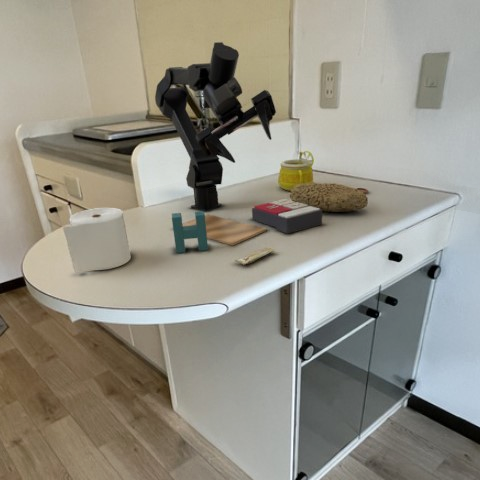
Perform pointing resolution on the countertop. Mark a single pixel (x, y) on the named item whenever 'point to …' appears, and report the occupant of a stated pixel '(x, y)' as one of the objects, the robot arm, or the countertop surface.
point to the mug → (296, 172)
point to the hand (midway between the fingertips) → (252, 149)
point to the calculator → (287, 215)
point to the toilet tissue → (97, 239)
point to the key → (363, 190)
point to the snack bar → (254, 256)
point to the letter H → (190, 231)
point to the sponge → (329, 197)
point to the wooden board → (227, 230)
